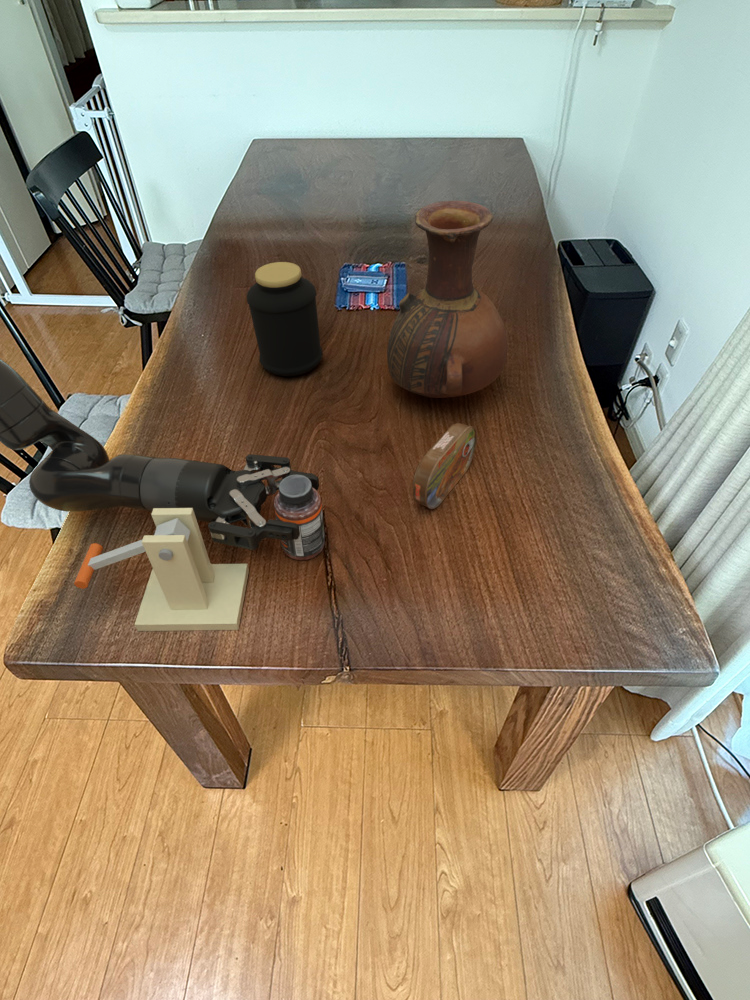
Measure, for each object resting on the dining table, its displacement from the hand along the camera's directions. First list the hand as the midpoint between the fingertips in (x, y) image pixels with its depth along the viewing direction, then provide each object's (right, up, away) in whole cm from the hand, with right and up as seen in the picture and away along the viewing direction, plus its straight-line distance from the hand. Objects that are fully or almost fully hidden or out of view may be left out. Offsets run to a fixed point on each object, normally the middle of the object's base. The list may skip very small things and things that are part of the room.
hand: (308, 506), depth 74 cm
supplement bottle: (-1, -5, +6) cm, 8 cm away
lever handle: (-19, -6, -6) cm, 20 cm away
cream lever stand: (-14, -12, 0) cm, 18 cm away
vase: (+20, +20, +31) cm, 42 cm away
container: (-7, +26, +38) cm, 46 cm away
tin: (+18, +3, +14) cm, 23 cm away
